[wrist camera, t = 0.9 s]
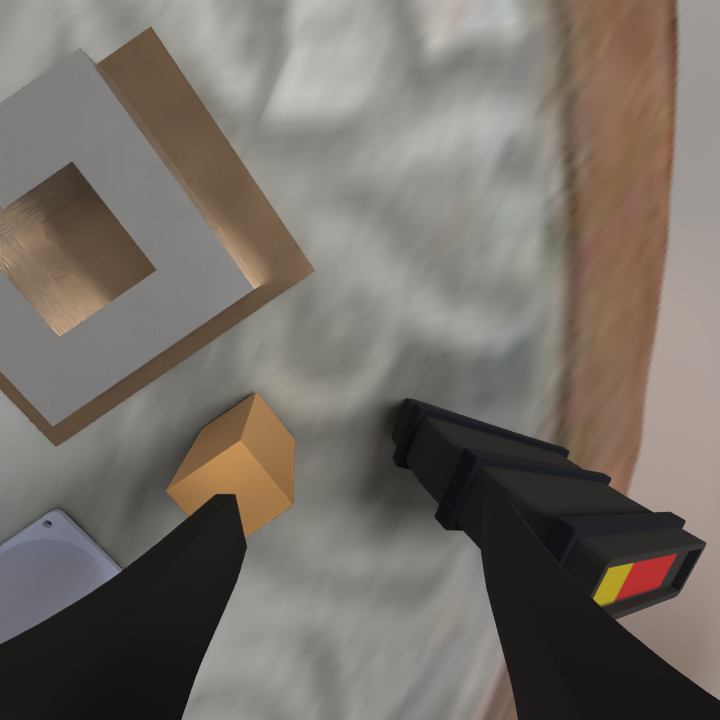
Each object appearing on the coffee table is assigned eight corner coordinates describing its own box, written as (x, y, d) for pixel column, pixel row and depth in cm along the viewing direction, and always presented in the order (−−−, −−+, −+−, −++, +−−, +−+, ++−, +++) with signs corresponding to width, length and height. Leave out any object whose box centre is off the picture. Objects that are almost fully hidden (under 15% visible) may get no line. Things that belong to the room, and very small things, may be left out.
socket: (65, 439, 26) (18, 475, 22) (-130, 235, 23) (-232, 229, 18) (314, 270, 26) (316, 271, 22) (157, 36, 22) (122, -18, 18)
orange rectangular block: (243, 472, 28) (222, 552, 20) (204, 425, 27) (165, 490, 19) (295, 438, 28) (293, 505, 20) (257, 389, 27) (240, 440, 19)
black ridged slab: (365, 382, 26) (609, 552, 14) (496, 409, 34) (723, 533, 22) (344, 438, 27) (560, 646, 15) (477, 452, 35) (689, 596, 23)
